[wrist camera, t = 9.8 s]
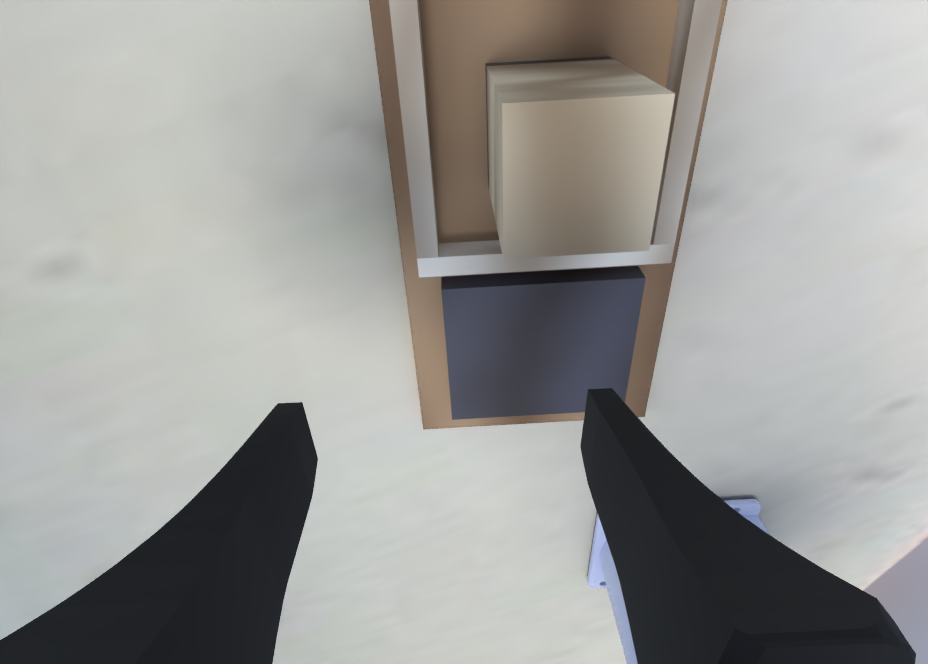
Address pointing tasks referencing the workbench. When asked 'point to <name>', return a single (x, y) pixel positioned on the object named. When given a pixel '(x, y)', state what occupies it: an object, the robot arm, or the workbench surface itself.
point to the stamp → (574, 155)
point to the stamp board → (472, 217)
